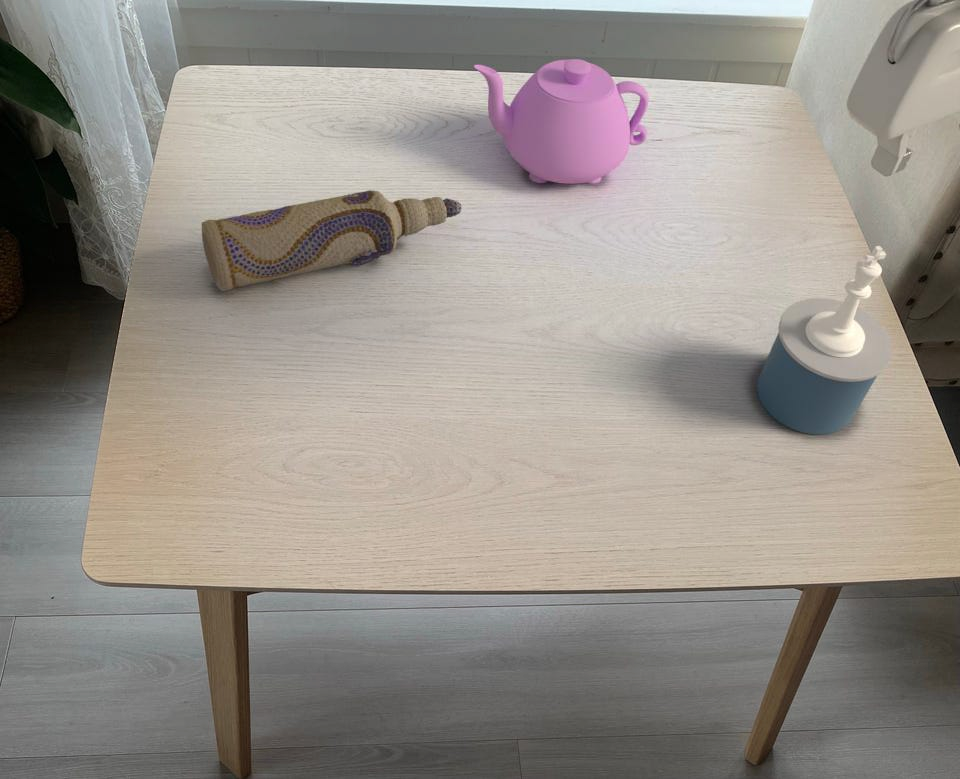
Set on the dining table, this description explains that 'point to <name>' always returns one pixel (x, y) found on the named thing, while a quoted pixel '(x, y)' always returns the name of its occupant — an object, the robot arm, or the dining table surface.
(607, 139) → the teapot
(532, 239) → the dining table surface
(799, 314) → the yogurt tub
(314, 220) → the decorative bottle
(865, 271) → the chess piece
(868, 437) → the dining table surface
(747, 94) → the dining table surface
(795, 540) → the dining table surface
